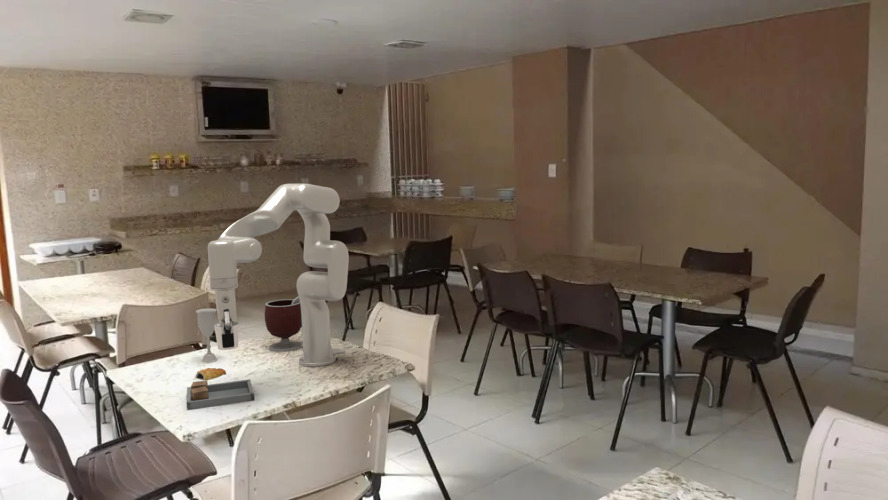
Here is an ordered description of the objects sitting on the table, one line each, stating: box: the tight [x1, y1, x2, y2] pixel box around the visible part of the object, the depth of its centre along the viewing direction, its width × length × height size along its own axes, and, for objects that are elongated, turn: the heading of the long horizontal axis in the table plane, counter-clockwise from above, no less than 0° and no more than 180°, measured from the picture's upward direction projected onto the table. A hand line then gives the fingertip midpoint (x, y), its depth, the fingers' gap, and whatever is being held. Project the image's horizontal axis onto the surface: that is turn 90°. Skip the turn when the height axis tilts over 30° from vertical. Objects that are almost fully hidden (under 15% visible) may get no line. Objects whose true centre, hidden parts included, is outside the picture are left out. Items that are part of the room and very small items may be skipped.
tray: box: [186, 379, 255, 411], centre depth 190 cm, size 18×14×3 cm
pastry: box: [194, 367, 227, 381], centre depth 210 cm, size 9×7×4 cm
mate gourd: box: [264, 296, 303, 353], centre depth 245 cm, size 16×14×20 cm
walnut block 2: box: [191, 387, 209, 401], centre depth 185 cm, size 4×4×4 cm
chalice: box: [195, 308, 218, 363], centre depth 230 cm, size 7×7×18 cm
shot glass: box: [214, 321, 240, 351], centre depth 189 cm, size 7×7×7 cm
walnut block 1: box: [190, 380, 209, 389], centre depth 191 cm, size 4×4×4 cm
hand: (227, 343), depth 189 cm, fingers closed on shot glass, 6 cm apart
